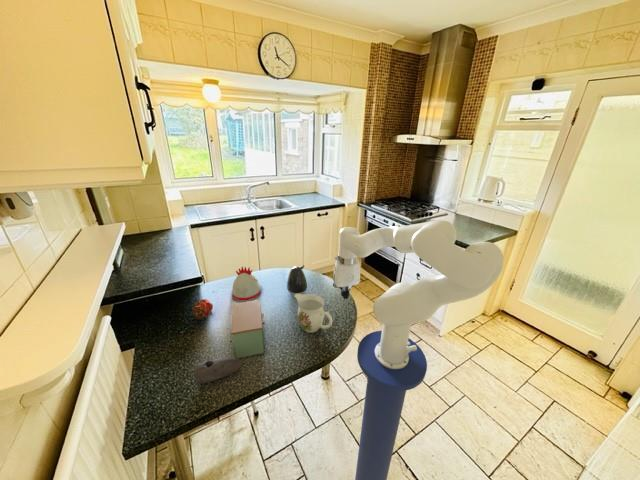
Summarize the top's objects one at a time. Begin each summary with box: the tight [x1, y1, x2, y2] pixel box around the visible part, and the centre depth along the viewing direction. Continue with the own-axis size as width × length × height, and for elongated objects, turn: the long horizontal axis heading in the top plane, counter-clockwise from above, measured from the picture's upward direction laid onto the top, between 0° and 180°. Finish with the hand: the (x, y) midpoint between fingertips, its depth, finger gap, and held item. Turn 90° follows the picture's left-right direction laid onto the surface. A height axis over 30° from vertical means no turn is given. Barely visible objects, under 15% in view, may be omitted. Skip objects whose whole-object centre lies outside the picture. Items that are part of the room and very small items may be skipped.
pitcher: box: [293, 293, 333, 334], centre depth 106 cm, size 11×18×14 cm, turn 58°
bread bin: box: [230, 299, 266, 359], centre depth 100 cm, size 12×17×13 cm
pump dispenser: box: [286, 264, 308, 297], centre depth 128 cm, size 10×10×15 cm
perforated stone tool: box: [192, 357, 243, 385], centre depth 86 cm, size 15×5×7 cm, turn 110°
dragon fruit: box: [191, 298, 214, 321], centre depth 114 cm, size 8×8×12 cm
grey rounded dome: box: [231, 266, 262, 302], centre depth 128 cm, size 14×14×15 cm
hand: (344, 296), depth 107 cm, fingers closed
